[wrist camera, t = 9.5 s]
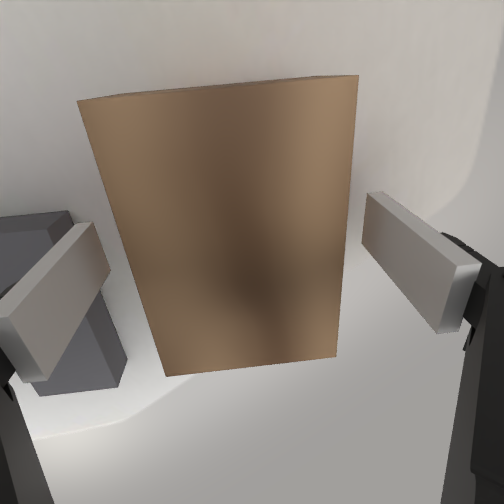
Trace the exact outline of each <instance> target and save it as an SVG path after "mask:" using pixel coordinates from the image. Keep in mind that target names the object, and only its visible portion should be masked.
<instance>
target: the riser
mask: <svg viewBox="0 0 504 504" xmlns="http://www.w3.org/2000/svg"><path fill="white" fill-rule="evenodd" d="M73 226H74V225H73V222H72V220H71V217H70V215H69V212H68V211H60V212H50V213H40V214H31V215H21V216H11V217H1V218H0V294H1V293H2V292H3V291H4V290H5V289H6V288H7V287H9V286H10V285H12V284H14V283H15V282H17V281H18V280H20V279H22V278H23V277H24V276H25V275H26V273H27V272H28V271H29V270H30V269H31V268H32V267H33V266H34V265H35V264H36V263H37V262H38V261H39V260H40V259H41V258H42V257H43V256H44V255H45V254H46V253H47V252H48V251H49V250H50V249H51V248H52V247H53V246H54V245H55V244H56V243H57V242H58V241H59V240H60V239H61V238H62V237H63V236H64V235H65V234H66V233H67V232H68V231H69V230H70V229H71V228H72V227H73ZM126 362H127V357H126V355H125V352H124V350H123V347H122V345H121V342H120V340H119V337H118V335H117V332H116V330H115V327H114V325H113V322H112V320H111V317H110V315H109V312H108V310H107V307H106V305H105V302H104V300H103V297H102V295H101V292H100V290H99V292H98V294H97V295H96V297H95V299H94V301H93V302H92V304H91V306H90V307H89V309H88V311H87V313H86V314H85V316H84V318H83V320H82V321H81V323H80V325H79V327H78V328H77V330H76V332H75V333H74V335H73V337H72V339H71V340H70V342H69V344H68V346H67V347H66V349H65V351H64V353H63V354H62V356H61V358H60V360H59V361H58V363H57V365H56V366H55V368H54V370H53V372H52V373H51V375H50V377H49V379H48V380H47V381H39V382H31V384H32V386H33V387H34V389H35V390H36V392H37V393H38V395H39V396H49V395H58V394H66V393H75V392H83V391H92V390H100V389H109V388H117V387H118V386H119V383H120V380H121V377H122V374H123V371H124V368H125V365H126Z"/></svg>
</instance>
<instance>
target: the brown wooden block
mask: <svg viewBox="0 0 504 504" xmlns="http://www.w3.org/2000/svg"><path fill="white" fill-rule="evenodd" d="M358 79H359V75H341V76H311V77H300V78H289V79H278V80H267V81H256V82H245V83H234V84H223V85H212V86H201V87H190V88H179V89H168V90H157V91H146V92H135V93H124V94H117V95H111V96H105V97H99V98H92V99H86V100H80V101H77V104H78V107H79V110H80V113H81V116H82V119H83V122H84V126H85V129H86V132H87V135H88V138H89V141H90V144H91V147H92V150H93V153H94V156H95V160H96V163H97V166H98V169H99V172H100V175H101V178H102V181H103V184H104V187H105V190H106V193H107V197H108V200H109V203H110V206H111V209H112V212H113V215H114V218H115V221H116V224H117V227H118V231H119V234H120V237H121V240H122V243H123V246H124V249H125V252H126V255H127V258H128V261H129V264H130V268H131V271H132V274H133V277H134V280H135V283H136V286H137V289H138V292H139V295H140V298H141V301H142V305H143V308H144V311H145V314H146V317H147V320H148V323H149V326H150V329H151V332H152V335H153V339H154V342H155V345H156V348H157V351H158V354H159V357H160V360H161V363H162V366H163V369H164V372H165V376H166V377H169V376H178V375H186V374H195V373H203V372H212V371H220V370H229V369H237V368H246V367H255V366H262V365H272V364H280V363H289V362H298V361H306V360H315V359H323V358H332V357H336V353H337V340H338V327H339V315H340V303H341V291H342V278H343V266H344V253H345V241H346V229H347V216H348V204H349V191H350V179H351V166H352V154H353V142H354V129H355V117H356V104H357V92H358Z"/></svg>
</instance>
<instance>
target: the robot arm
mask: <svg viewBox="0 0 504 504" xmlns="http://www.w3.org/2000/svg"><path fill="white" fill-rule="evenodd" d="M362 244H363V246H364V247H365V248H366V249H367V250H368V252H369V253H370V254H371V255H372V256H373V258H374V259H375V260H376V261H377V262H378V264H379V265H380V266H381V267H382V268H383V270H384V271H385V272H386V273H387V275H388V276H389V277H390V278H391V279H392V280H393V282H394V283H395V284H396V285H397V287H398V288H399V289H400V290H401V291H402V292H403V294H404V295H405V296H406V297H407V299H408V300H409V301H410V302H411V303H412V305H413V306H414V307H415V308H416V309H417V311H418V312H419V313H420V314H421V316H422V317H423V318H424V319H425V320H426V322H427V323H428V324H429V325H430V326H431V328H432V329H433V330H434V331H435V332H436V334H441V333H448V332H458V331H459V329H460V326H461V323H462V319H463V317H464V318H465V319H466V320H467V321H468V322H469V323H470V324H471V325H472V326H471V328H470V331H469V334H468V337H467V340H466V342H465V345H464V347H463V350H464V351H466V352H465V358H464V365H463V370H462V376H461V382H460V388H459V395H458V401H457V407H456V413H455V419H454V425H453V431H452V437H451V443H450V449H449V455H448V461H447V467H446V473H445V480H444V485H443V492H442V498H441V504H504V267H498V266H497V265H495V264H494V263H492V262H491V261H489V260H488V259H487V258H485V257H483V256H482V255H481V254H479V253H478V252H476V251H474V249H472V248H471V247H469V246H466V244H465V243H463V242H462V241H461V240H459V239H458V238H456V237H453V236H451V235H448V234H446V233H443V232H442V233H439V232H438V231H437V230H435V229H434V228H432V227H431V226H430V225H428V224H427V223H425V222H424V221H423V220H421V219H420V218H419V217H417V216H416V215H414V214H413V213H412V212H410V211H409V210H407V209H406V208H405V207H403V206H402V205H401V204H399V203H398V202H396V201H395V200H394V199H392V198H391V197H389V196H388V195H387V194H385V193H384V192H373V193H367V199H366V208H365V216H364V225H363V234H362ZM110 271H111V270H110V267H109V264H108V262H107V259H106V256H105V253H104V251H103V248H102V245H101V243H100V240H99V237H98V234H97V232H96V229H95V226H94V223H93V222H85V223H76V224H75V225H74V226H73V227H72V228H71V229H70V230H69V231H68V232H67V233H66V234H65V235H64V236H63V237H62V238H61V239H60V240H59V241H58V242H57V243H56V244H55V245H54V246H53V247H52V248H51V249H50V250H49V251H48V252H47V253H46V254H45V255H44V256H43V257H42V258H41V259H40V260H39V261H38V262H37V263H36V264H35V265H34V266H33V267H32V268H31V269H30V270H29V271H28V272H27V273H26V275H25V276H24V277H23V278H22V279H20V280H18V281H17V282H15V283H14V284H12V285H10V286H9V287H7V288H6V289H5V290H4V291H3V292H2V293H1V294H0V504H54V501H53V498H52V496H51V493H50V490H49V487H48V484H47V482H46V479H45V476H44V473H43V471H42V468H41V465H40V462H39V459H38V457H37V454H36V451H35V448H34V446H33V443H32V440H31V437H30V434H29V431H28V429H27V426H26V423H25V420H24V417H23V415H22V412H21V409H20V406H19V403H18V401H17V398H16V395H15V392H14V390H13V388H12V386H11V385H10V384H9V382H8V381H9V379H10V378H11V376H12V375H13V374H14V372H15V371H16V373H17V374H18V376H19V377H20V379H21V380H22V382H23V383H31V382H39V381H47V380H48V379H49V377H50V375H51V373H52V372H53V370H54V368H55V366H56V365H57V363H58V361H59V360H60V358H61V356H62V354H63V353H64V351H65V349H66V347H67V346H68V344H69V342H70V340H71V339H72V337H73V335H74V333H75V332H76V330H77V328H78V327H79V325H80V323H81V321H82V320H83V318H84V316H85V314H86V313H87V311H88V309H89V307H90V306H91V304H92V302H93V301H94V299H95V297H96V295H97V294H98V292H99V290H100V288H101V287H102V285H103V283H104V281H105V280H106V278H107V276H108V274H109V273H110Z"/></svg>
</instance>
